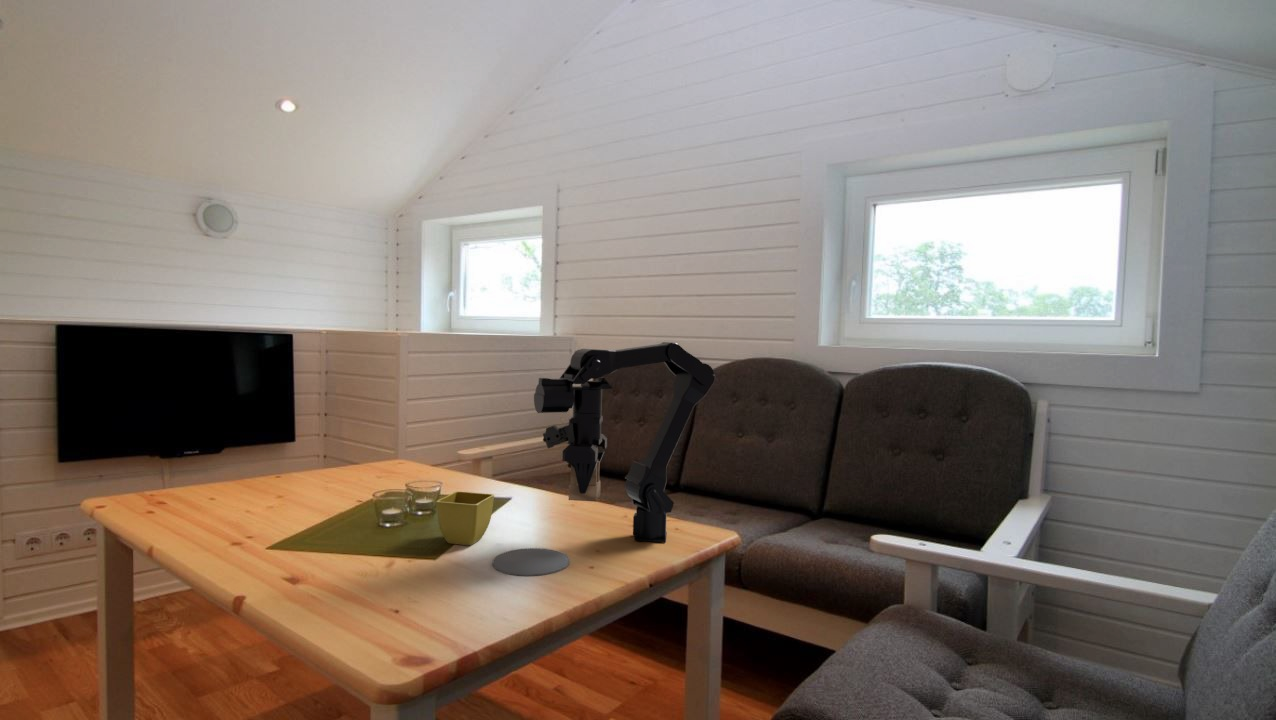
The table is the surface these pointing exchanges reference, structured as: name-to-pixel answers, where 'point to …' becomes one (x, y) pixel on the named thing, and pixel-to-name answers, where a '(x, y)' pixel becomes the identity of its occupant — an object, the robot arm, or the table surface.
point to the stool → (592, 489)
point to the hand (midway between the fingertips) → (585, 489)
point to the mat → (531, 562)
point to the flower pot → (464, 516)
